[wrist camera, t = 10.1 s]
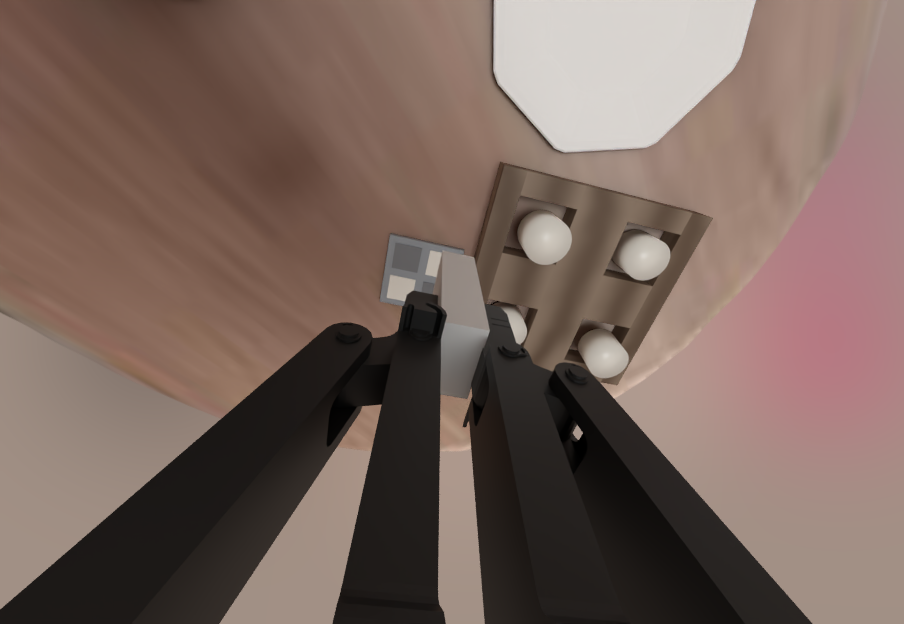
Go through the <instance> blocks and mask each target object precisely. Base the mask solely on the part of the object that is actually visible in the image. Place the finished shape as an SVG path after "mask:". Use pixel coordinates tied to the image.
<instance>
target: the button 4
mask: <svg viewBox="0 0 904 624" xmlns="http://www.w3.org/2000/svg"><path fill="white" fill-rule="evenodd" d="M612 259H613V261H614V262H615V263H616V264H617V265H618V266H619V267H620V268H621V269H623V270H624V271H625V272H626V273H627V274H629V275H630V276H631V277H632V278H634V279H636V280H649V279H652V278H654V277H656V276H658V275H659V274H660V273H662V272H663V271H664V269H665V268H666V267H667V265H668V263H669V260H670V249H669V247H668V246H667V245H666V243H664V242H663V241H661V240H659V239H657V238H655V237H653V236H652V235H650V234H648V233H646V232H644V231H642V230H630V231H628V232H625V233H624V234H622V236H621V238H620V240H619V242H618V245H617V247H616V249H615V251H614V253H613V255H612Z"/></svg>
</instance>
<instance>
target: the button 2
mask: <svg viewBox="0 0 904 624" xmlns="http://www.w3.org/2000/svg"><path fill="white" fill-rule="evenodd" d="M517 237H518V241H519V243H520V245H521V246H522V248H523V249H524V251H525V253H526V254H527V256H528V257H529V258H530V259H531V260H532V261H533V262H535V263H537V264H541V265H549V264H553V263H556V262H558V261H559V260H561V259H562V258H563V257H564V256H565V255H566V254H567V252H568V251H569V249H570V246H571V243H572V235H571V231H570V229H569V227H568V226H567V225H566V224H565V223H564V222H563V221H561V220H560V219H559V218H558V217H557V216H556V215H554V214H553V213H552V212H550V211H547V210H536V211H533V212H531V213H529V214H527V215H526V216H525V217H524V218H523V219H522V221H521V222H520V224H519V226H518V230H517Z"/></svg>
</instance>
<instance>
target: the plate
mask: <svg viewBox="0 0 904 624" xmlns="http://www.w3.org/2000/svg"><path fill="white" fill-rule="evenodd" d="M755 2H756V0H494V34H493V72H494V75H495V78H496V81H497V84H498V85H499V86H500V87H501V88H502V90H503V91H504V92H505V93H506V94H507V95H508V96H509V98H510V99H511V100H512V101H513V102H514V103H515V104H516V106H517V107H518V108H519V109H520V110H521V111H522V112H523V113H524V115H525V116H526V117H527V118H528V119H529V120H530V121H531V123H532V124H533V125H534V126H535V127H536V128H537V129H538V131H539V132H540V133H541V134H542V135H543V136H544V137H545V139H546V140H547V141H548V142H549V143H550V144H551V145H552V147H553V148H554V149H557V150H559V151H561V152H564V153H566V152H584V151H602V150H620V149H638V148H647V147H649V146H651V145H653V144H655V143H657V142H658V141H659V140H660V139H661V138H662V137H663V136H664V135H665V134H666V133H667V132H668V131H669V130H670V129H671V128H672V127H673V126H675V125H676V124H677V123H678V122H679V121H680V120H681V119H682V118H683V117H684V116H685V115H686V114H687V113H688V112H689V111H690V110H691V109H692V108H693V107H695V106H696V105H697V104H698V103H699V102H700V101H701V100H702V99H703V98H704V97H705V96H706V95H707V94H708V93H709V92H710V91H711V90H712V89H714V88H715V87H716V86H717V85H718V84H719V83H720V82H721V81H722V80H723V79H724V78H725V77H726V76H727V75H728V74H729V73H730V72H731V71H732V70H733V69H734V67H735V65H736V64H737V62H738V60H739V59H740V57H741V53H742V50H743V46H744V42H745V39H746V35H747V31H748V28H749V24H750V20H751V17H752V13H753V9H754V6H755Z"/></svg>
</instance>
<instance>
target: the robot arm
mask: <svg viewBox="0 0 904 624" xmlns="http://www.w3.org/2000/svg"><path fill="white" fill-rule="evenodd" d="M471 386H472V399H471V402H470V405H469V408H468V410H467V413H466V416H465V419H464V423H463V427H466V426H467V423H468V421H469V424H470V437H471V450H472V461H473V462H472V463H473V475H474V489H475V502H476V515H477V527H478V540H479V553H480V566H481V578H482V592H483V605H484V618H485V624H812V623H811V622H810V621H809V619H808V618H807V617H806V616H805V615H804V614H803V613H802V611H801V610H800V609H799V608H798V607H797V606H796V605H795V603H794V602H793V601H792V600H791V599H790V598H789V597H788V595H786V593H785V592H784V591H783V590H782V589H781V588H780V586H779V585H778V584H777V583H776V582H775V581H774V580H773V578H772V577H771V576H770V575H769V574H768V573H767V572H766V571H765V569H764V568H762V566H761V565H760V564H759V563H758V561H757V560H756V559H755V558H754V557H753V556H752V555H751V554H750V552H749V551H748V550H747V549H746V548H745V547H744V546H743V544H742V543H741V542H740V541H739V540H738V539H737V538H736V537H735V535H734V534H733V533H732V532H731V531H730V530H729V529H728V527H727V526H726V525H725V524H724V523H723V522H722V521H721V520H720V519H719V517H718V516H717V515H716V514H715V513H714V512H713V510H712V509H711V508H710V507H709V506H708V505H707V504H706V503H705V501H703V499H702V498H701V497H700V496H699V495H698V494H697V492H696V491H695V490H694V489H693V488H692V487H691V486H690V484H689V483H688V482H687V481H686V480H685V479H684V478H683V477H682V475H681V474H680V473H679V472H678V471H677V470H676V469H675V467H674V466H673V465H672V464H671V463H670V462H669V461H668V460H667V458H666V457H665V456H664V455H663V454H662V453H661V451H660V450H659V449H658V448H657V447H656V446H655V445H654V444H653V442H652V441H651V440H650V439H649V438H648V437H647V436H646V435H645V434H644V432H643V431H642V430H641V429H640V428H639V427H638V425H637V424H636V423H635V422H634V421H633V420H632V419H631V417H630V416H629V415H628V414H627V413H626V412H625V411H624V410H623V408H622V407H621V406H620V405H619V404H618V403H617V402H616V400H615V399H614V398H613V397H612V396H611V395H610V394H609V393H608V391H607V390H606V389H605V388H604V387H603V386H602V385H601V383H600V382H599V381H598V380H597V379H596V378H595V377H594V376H593V375H592V374H591V373H590V372H589V371H587V370H586V369H584V368H583V367H581V366H579V365H576V364H573V363H567V362H563V363H558V364H557V365H556V366H555V368H554V370H553V371H550V370H547V369H545V368H542V367H540V366H537V365H535V364H533V362H532V359H531V356H530V354H529V353H528V351H527V350H526V349H525V348H524V347H523V346H521V345H520V344H518V343H516V340H515V337H514V334H513V331H512V328H511V325H510V323H509V318H508V315H507V314H506V313H505V312H504V310H503V309H502V308H501V307H497V306H492V305H488V304H484V301H483V296H482V292H481V287H480V282H479V278H478V273H477V268H476V264H475V259H474V257H471V256H466V255H462V254H457V253H452V252H448V251H443V250H442V255H441V259H440V264H439V268H438V272H437V277H436V281H435V285H434V290H433V294H429V293H424V292H419V291H414V290H413V291H411V292H410V293H409V294H407V295H406V300H405V304H404V305H403V308H402V313H401V318H400V323H399V329H398V331H397V332H396V333H395V334H393V335H391V336H387V337H381V338H373V337H372V334H371V332H370V331H369V330H368V329H367V328H365V327H363V326H361V325H358V324H354V323H338V324H333V325H331V326H329V327H328V328H326V329H325V330H324V331H323V332H321V333H320V334H319V335H318V336H317V337H316V338H314V339H313V340H312V341H311V342H310V343H309V344H308V345H306V346H305V347H304V348H303V349H302V350H301V351H299V352H298V353H297V354H296V355H295V356H294V357H292V358H291V359H290V360H289V361H288V362H287V363H286V364H284V365H283V366H282V367H281V368H280V369H279V370H277V371H276V372H275V373H274V374H273V375H272V376H270V377H269V378H268V379H267V380H266V381H265V382H263V383H262V384H261V385H260V386H259V387H258V388H257V389H255V390H254V391H253V392H252V393H251V394H250V395H248V396H247V397H246V398H245V399H244V400H243V401H241V402H240V403H239V404H238V405H237V406H236V407H235V408H233V409H232V410H231V411H230V412H229V413H228V414H226V415H225V416H224V417H223V418H222V419H221V420H219V421H218V422H217V423H216V424H215V425H214V426H212V427H211V428H210V429H209V430H208V431H207V432H206V433H205V434H203V435H202V436H201V437H200V438H199V439H197V440H196V441H195V442H194V443H193V444H192V445H190V446H189V447H188V448H187V449H186V450H185V451H184V452H183V453H181V454H180V455H179V456H178V457H177V458H175V459H174V460H173V461H172V462H171V463H170V464H168V466H166V467H165V468H164V469H163V470H162V471H160V472H159V473H158V474H157V475H156V476H155V477H153V478H152V479H151V480H150V481H149V482H148V483H146V484H145V485H144V486H143V487H142V488H141V489H140V490H138V491H137V492H136V493H135V494H134V495H133V496H131V497H130V498H129V499H128V500H127V501H126V502H124V503H123V504H122V505H121V506H120V507H119V508H117V509H116V510H115V511H114V512H113V513H112V514H111V515H109V516H108V517H107V518H106V519H105V520H104V521H103V522H101V523H100V524H99V525H98V526H97V527H96V528H94V529H93V530H92V531H91V532H90V533H89V534H87V535H86V536H85V537H84V538H83V539H82V540H81V541H79V542H78V543H77V544H76V545H75V546H74V547H72V548H71V549H70V550H69V551H68V552H67V553H65V554H64V555H63V556H62V557H61V558H60V559H58V560H57V561H56V562H55V563H54V564H53V565H51V566H50V567H49V568H48V569H47V570H46V571H45V572H43V573H42V574H41V575H40V576H39V577H37V578H36V579H35V580H34V581H33V582H32V583H31V584H29V585H28V586H27V587H26V588H25V589H24V590H22V591H21V592H20V593H19V594H18V595H17V596H16V597H14V598H13V599H12V600H11V601H10V602H9V603H7V604H6V605H5V606H4V607H3V608H2V609H0V624H219V623H220V622H221V620H222V619H223V617H224V616H225V614H226V613H227V611H228V610H229V608H230V607H231V605H232V604H233V602H234V600H235V599H236V598H237V596H238V595H239V593H240V592H241V590H242V589H243V587H244V586H245V584H246V583H247V581H248V579H249V578H250V577H251V575H252V574H253V572H254V571H255V569H256V567H257V566H258V564H259V563H260V562H261V560H262V559H263V557H264V556H265V554H266V553H267V551H268V550H269V548H270V547H271V545H272V544H273V542H274V541H275V539H276V537H277V536H278V535H279V533H280V532H281V530H282V529H283V527H284V526H285V524H286V523H287V521H288V519H289V518H290V517H291V515H292V514H293V512H294V511H295V509H296V508H297V506H298V505H299V503H300V502H301V500H302V499H303V497H304V495H305V494H306V493H307V491H308V490H309V488H310V487H311V485H312V484H313V482H314V480H315V479H316V478H317V476H318V475H319V473H320V472H321V470H322V468H323V467H324V466H325V464H326V462H327V461H328V459H329V458H330V456H331V455H332V453H333V452H334V451H335V449H336V448H337V446H338V445H339V443H340V442H341V440H342V439H343V437H344V436H345V434H346V433H347V431H348V430H349V428H350V427H351V425H352V424H353V422H354V421H355V419H356V418H357V416H358V415H359V413H360V411H361V408H362V406H369V405H380V404H382V406H381V411H380V415H379V420H378V424H377V429H376V434H375V438H374V443H373V447H372V452H371V456H370V461H369V465H368V470H367V474H366V479H365V484H364V488H363V493H362V497H361V502H360V506H359V511H358V515H357V520H356V524H355V529H354V534H353V539H352V543H351V548H350V552H349V556H348V561H347V565H346V570H345V575H344V579H343V584H342V588H341V592H340V596H339V599H338V603H337V607H336V611H335V615H334V620H333V624H446V623H445V617H444V612H443V610H442V608H441V607H440V605H439V600H438V535H439V532H438V531H439V461H440V394H441V395H447V396H453V397H459V398H465V399H467V398H468V395H469V392H470V389H471ZM577 425H578V426H579V428H580V429H581V431H582V432H583V434H582V436H581V438H580V439H579V440H577V439H576V438H575V436H574V435H573V431H574V429H575V427H576V426H577Z"/></svg>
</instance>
